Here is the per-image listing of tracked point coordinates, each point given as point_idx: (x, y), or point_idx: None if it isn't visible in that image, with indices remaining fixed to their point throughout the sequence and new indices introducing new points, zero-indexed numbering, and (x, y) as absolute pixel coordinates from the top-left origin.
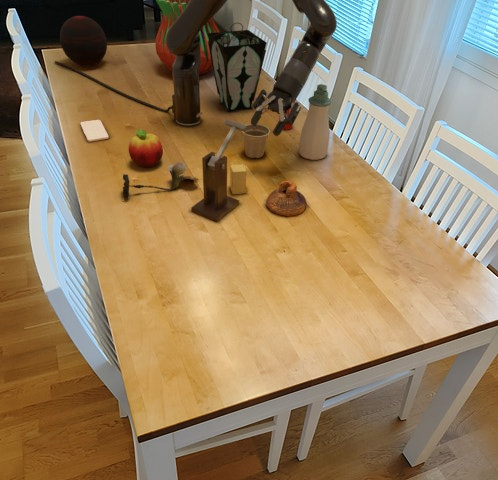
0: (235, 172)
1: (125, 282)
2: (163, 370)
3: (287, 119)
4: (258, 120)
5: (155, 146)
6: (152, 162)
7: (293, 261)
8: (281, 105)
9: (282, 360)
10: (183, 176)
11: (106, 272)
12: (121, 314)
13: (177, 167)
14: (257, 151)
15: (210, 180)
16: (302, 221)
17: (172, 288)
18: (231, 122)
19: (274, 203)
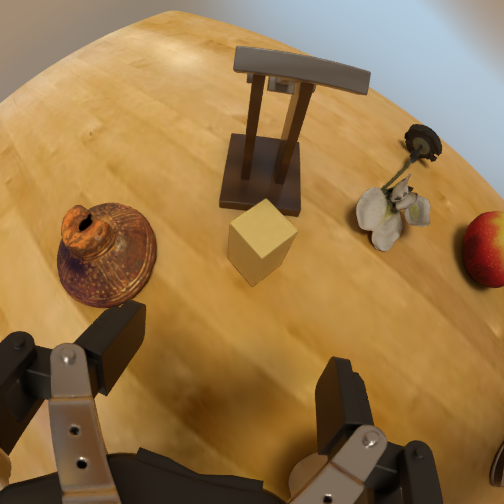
0: (259, 203)
1: (267, 46)
2: (177, 21)
3: (21, 339)
4: (318, 418)
5: (489, 235)
6: (465, 236)
7: (76, 125)
8: (72, 469)
9: (89, 51)
10: (381, 191)
11: (295, 50)
12: (241, 31)
13: (403, 180)
14: (303, 466)
15: (286, 125)
16: None
17: (215, 50)
18: (329, 61)
19: (122, 208)
